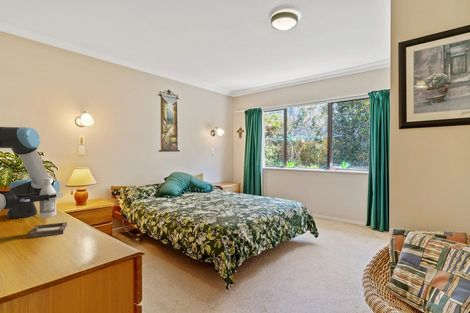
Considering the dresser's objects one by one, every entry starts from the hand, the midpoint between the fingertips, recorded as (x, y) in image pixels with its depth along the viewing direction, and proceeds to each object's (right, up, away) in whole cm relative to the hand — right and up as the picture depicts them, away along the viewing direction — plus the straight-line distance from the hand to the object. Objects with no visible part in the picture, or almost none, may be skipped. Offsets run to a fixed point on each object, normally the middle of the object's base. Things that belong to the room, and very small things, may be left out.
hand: (58, 194), depth 134 cm
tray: (-2, -19, -4) cm, 20 cm away
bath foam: (-3, -11, -4) cm, 12 cm away
